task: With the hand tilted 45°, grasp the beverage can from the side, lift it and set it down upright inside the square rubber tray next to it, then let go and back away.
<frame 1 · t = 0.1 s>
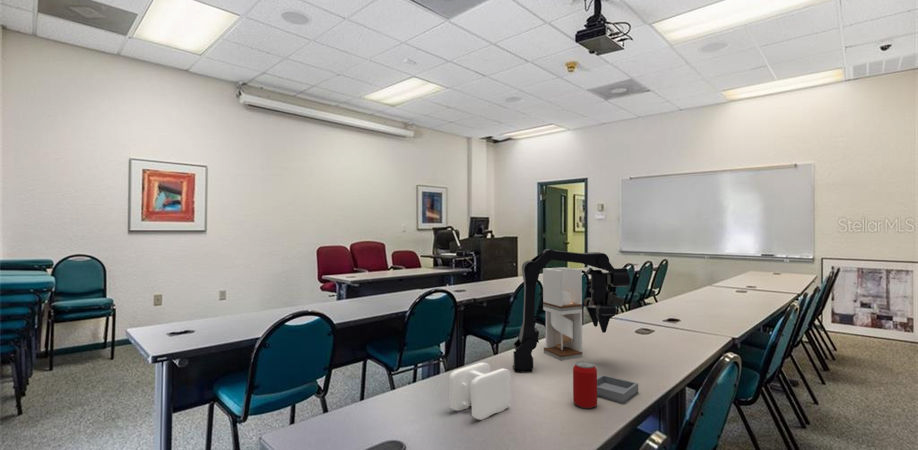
hand: (599, 329, 152), 15 cm above the table, tool pointing down, fingers open, 9 cm apart
coaster tray: (612, 393, 130), on the table
beverage can: (585, 405, 122), on the table
display case: (562, 355, 170), on the table
cable organizer: (479, 411, 119), on the table
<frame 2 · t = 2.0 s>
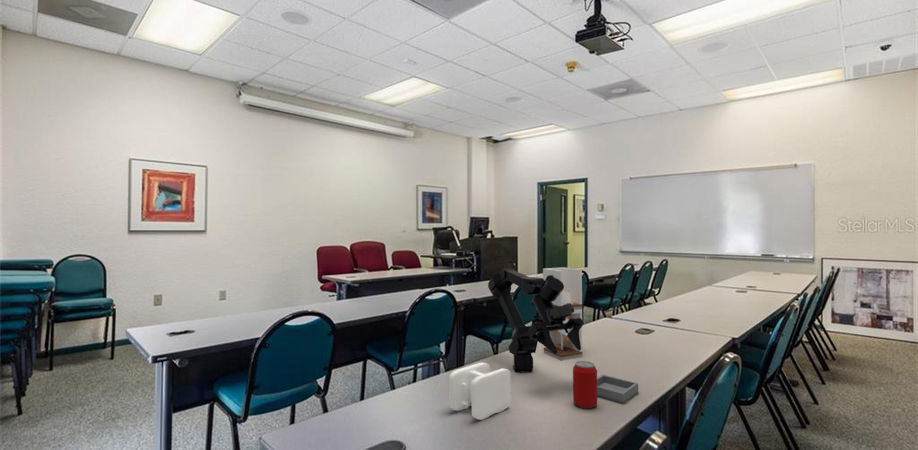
hand: (568, 351, 129), 13 cm above the table, tool tilted 45°, fingers open, 9 cm apart
nothing on the table moved.
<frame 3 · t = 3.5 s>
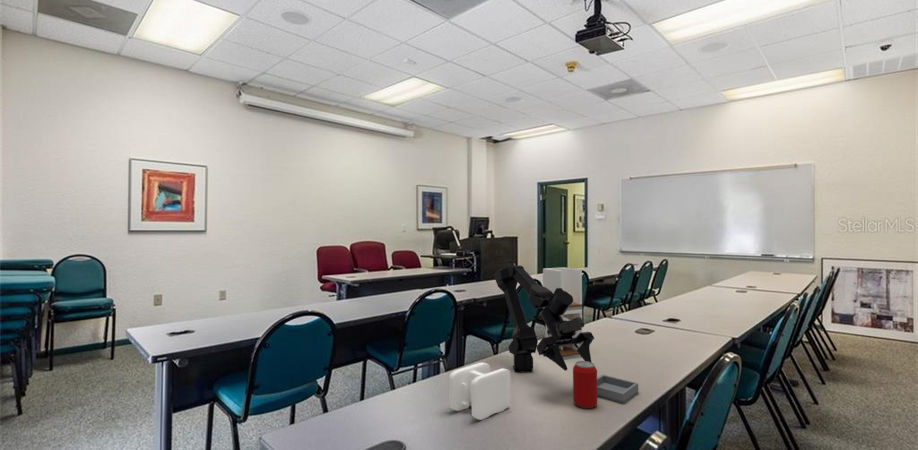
hand: (578, 367, 124), 10 cm above the table, tool tilted 45°, fingers open, 9 cm apart
nothing on the table moved.
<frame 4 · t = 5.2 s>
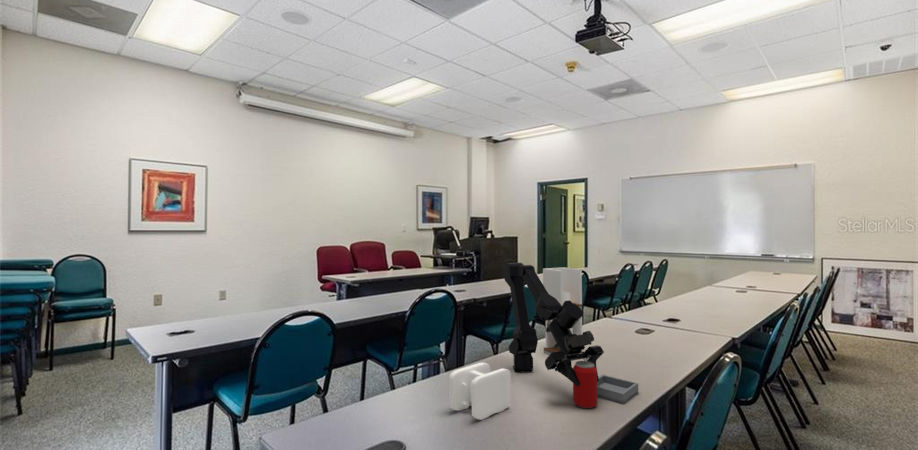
hand: (588, 383, 121), 7 cm above the table, tool tilted 45°, fingers closed on beverage can, 7 cm apart
beverage can: (585, 405, 122), on the table, touching gripper
everything else where it was.
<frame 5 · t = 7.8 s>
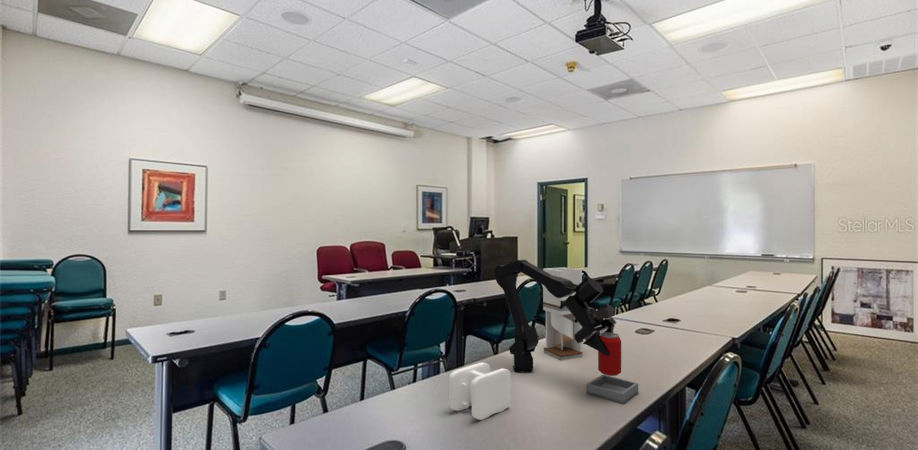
hand: (614, 352, 128), 13 cm above the table, tool tilted 45°, fingers closed on beverage can, 7 cm apart
beverage can: (609, 373, 129), point 6 cm above the table, touching gripper
everything else where it was.
when the fingers open (9 cm above the table, at t = 10.0 s): beverage can drops 1 cm, resting on coaster tray.
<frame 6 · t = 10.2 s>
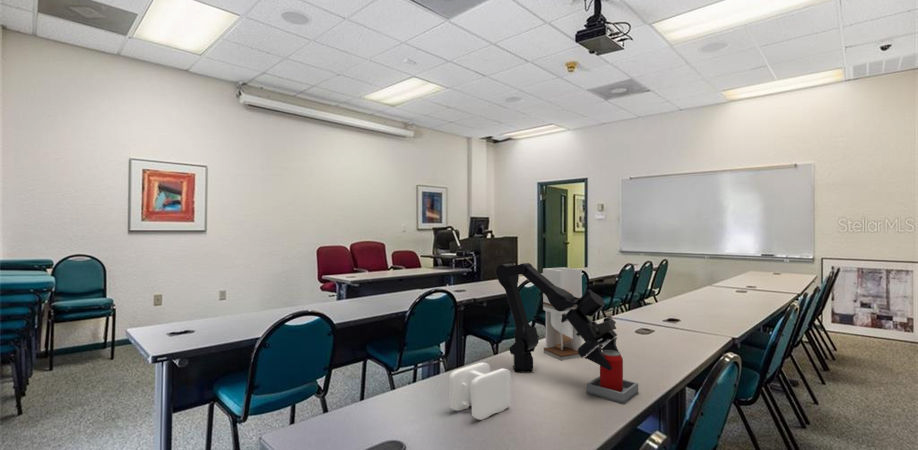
hand: (616, 365, 129), 9 cm above the table, tool tilted 45°, fingers open, 9 cm apart
beverage can: (611, 391, 130), point 1 cm above the table, touching coaster tray
everything else where it was.
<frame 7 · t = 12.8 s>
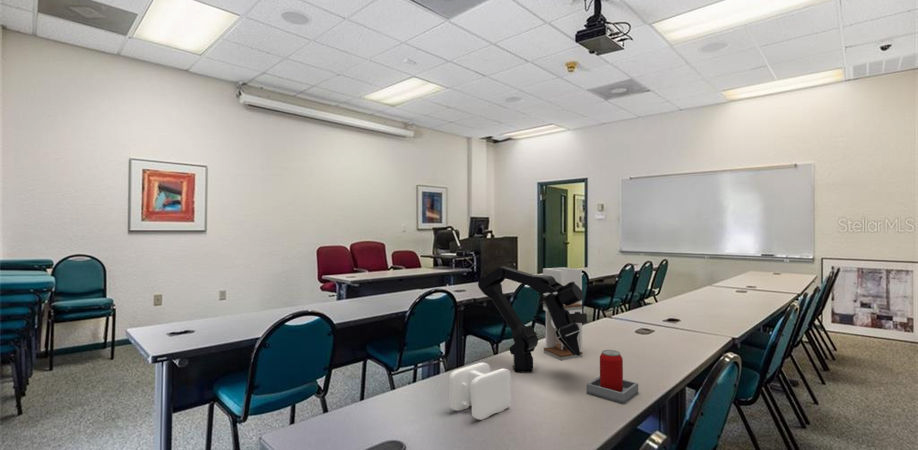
hand: (576, 355, 139), 9 cm above the table, tool tilted 25°, fingers open, 9 cm apart
nothing on the table moved.
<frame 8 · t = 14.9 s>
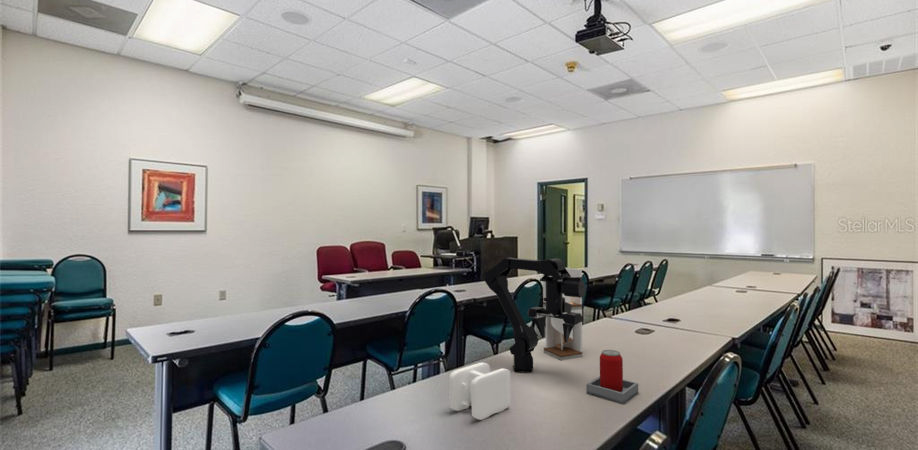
hand: (554, 339, 144), 13 cm above the table, tool pointing down, fingers open, 9 cm apart
nothing on the table moved.
at the end: beverage can 0.3 cm off-centre on the coaster tray, point 0.6 cm above the coaster tray's base; beverage can tilted 0°; the gripper is holding nothing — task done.
